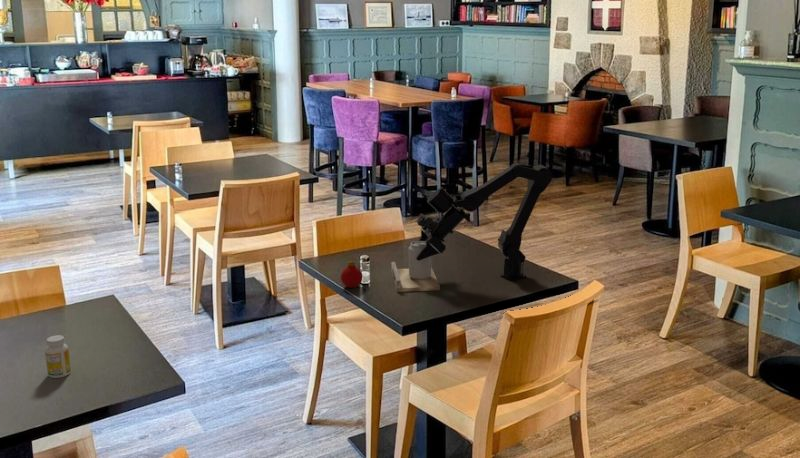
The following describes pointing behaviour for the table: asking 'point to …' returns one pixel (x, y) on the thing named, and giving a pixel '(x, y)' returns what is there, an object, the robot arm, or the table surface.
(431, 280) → the beige tray
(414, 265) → the can
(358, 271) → the christmas ornament
